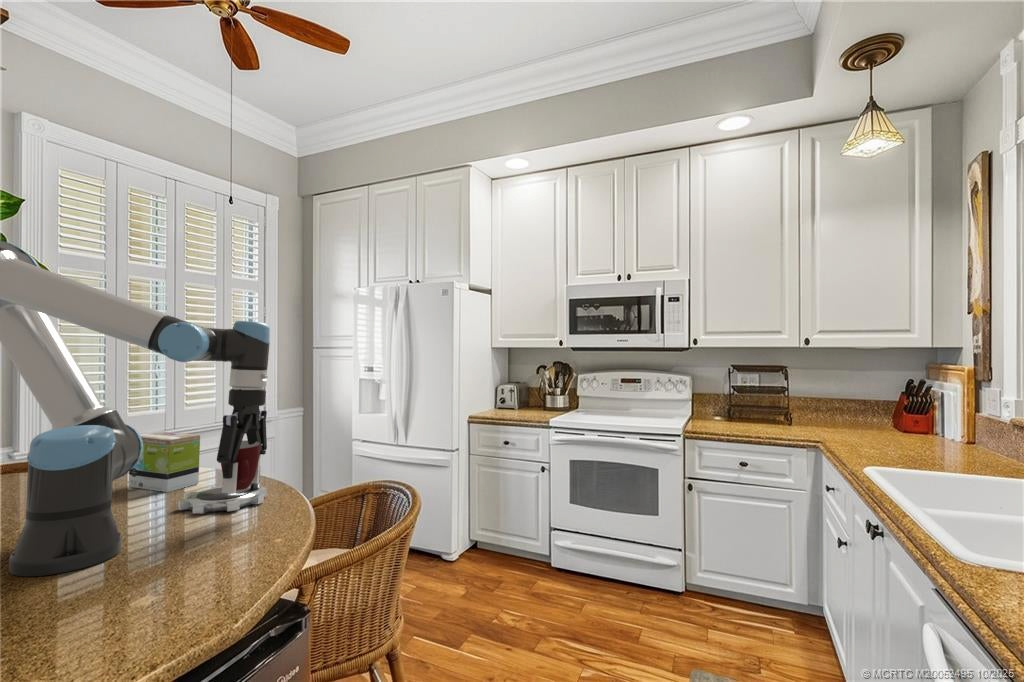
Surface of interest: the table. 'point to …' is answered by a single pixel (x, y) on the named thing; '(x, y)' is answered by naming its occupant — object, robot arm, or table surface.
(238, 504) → the sprocket
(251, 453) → the mug
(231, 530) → the table surface
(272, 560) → the table surface
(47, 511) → the robot arm
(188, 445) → the tea box
